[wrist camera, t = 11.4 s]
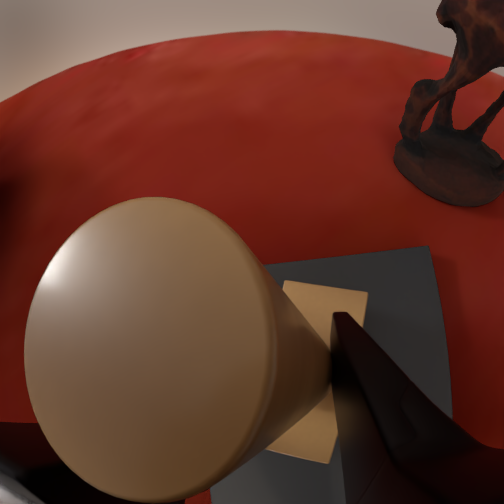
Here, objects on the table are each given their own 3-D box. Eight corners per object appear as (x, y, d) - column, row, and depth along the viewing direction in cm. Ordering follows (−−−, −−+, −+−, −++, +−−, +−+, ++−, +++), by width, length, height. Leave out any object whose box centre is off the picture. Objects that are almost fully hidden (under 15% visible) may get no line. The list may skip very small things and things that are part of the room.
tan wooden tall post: (332, 451, 14) (225, 689, 1) (259, 434, 15) (-12, 531, 2) (366, 304, 16) (387, 27, 3) (293, 292, 18) (125, 57, 4)
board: (444, 493, 13) (450, 498, 12) (218, 524, 14) (215, 531, 13) (423, 250, 18) (428, 245, 17) (199, 276, 20) (195, 272, 19)
